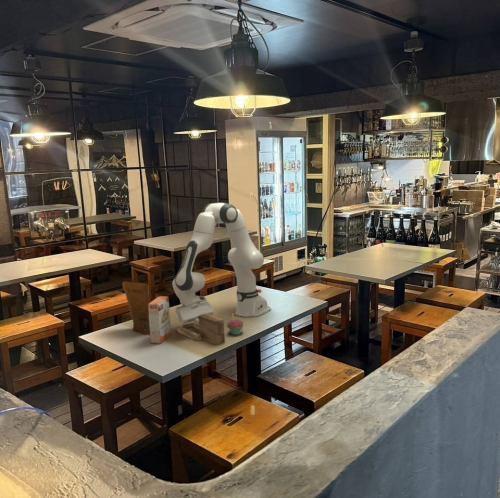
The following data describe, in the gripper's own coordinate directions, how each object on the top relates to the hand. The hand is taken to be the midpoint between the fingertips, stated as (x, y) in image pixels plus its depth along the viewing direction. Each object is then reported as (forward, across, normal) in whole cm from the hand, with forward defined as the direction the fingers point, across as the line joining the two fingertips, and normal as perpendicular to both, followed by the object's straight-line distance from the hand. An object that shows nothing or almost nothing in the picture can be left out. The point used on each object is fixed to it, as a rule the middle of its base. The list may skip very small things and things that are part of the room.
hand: (202, 325), depth 236 cm
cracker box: (-5, -17, +14) cm, 22 cm away
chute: (0, 0, +9) cm, 9 cm away
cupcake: (+11, +14, -2) cm, 18 cm away
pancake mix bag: (-17, -19, +26) cm, 36 cm away
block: (+10, 0, -1) cm, 10 cm away
